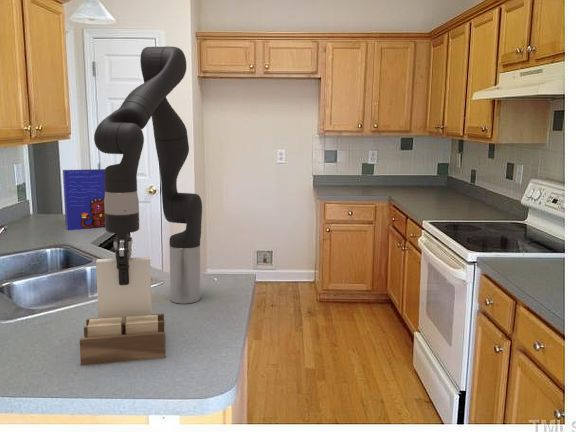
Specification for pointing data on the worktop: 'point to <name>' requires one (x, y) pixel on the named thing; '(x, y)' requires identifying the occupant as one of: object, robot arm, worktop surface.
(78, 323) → the worktop surface
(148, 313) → the cutting board
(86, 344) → the rack
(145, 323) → the offcut block
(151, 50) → the robot arm
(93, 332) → the offcut block
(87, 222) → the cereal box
